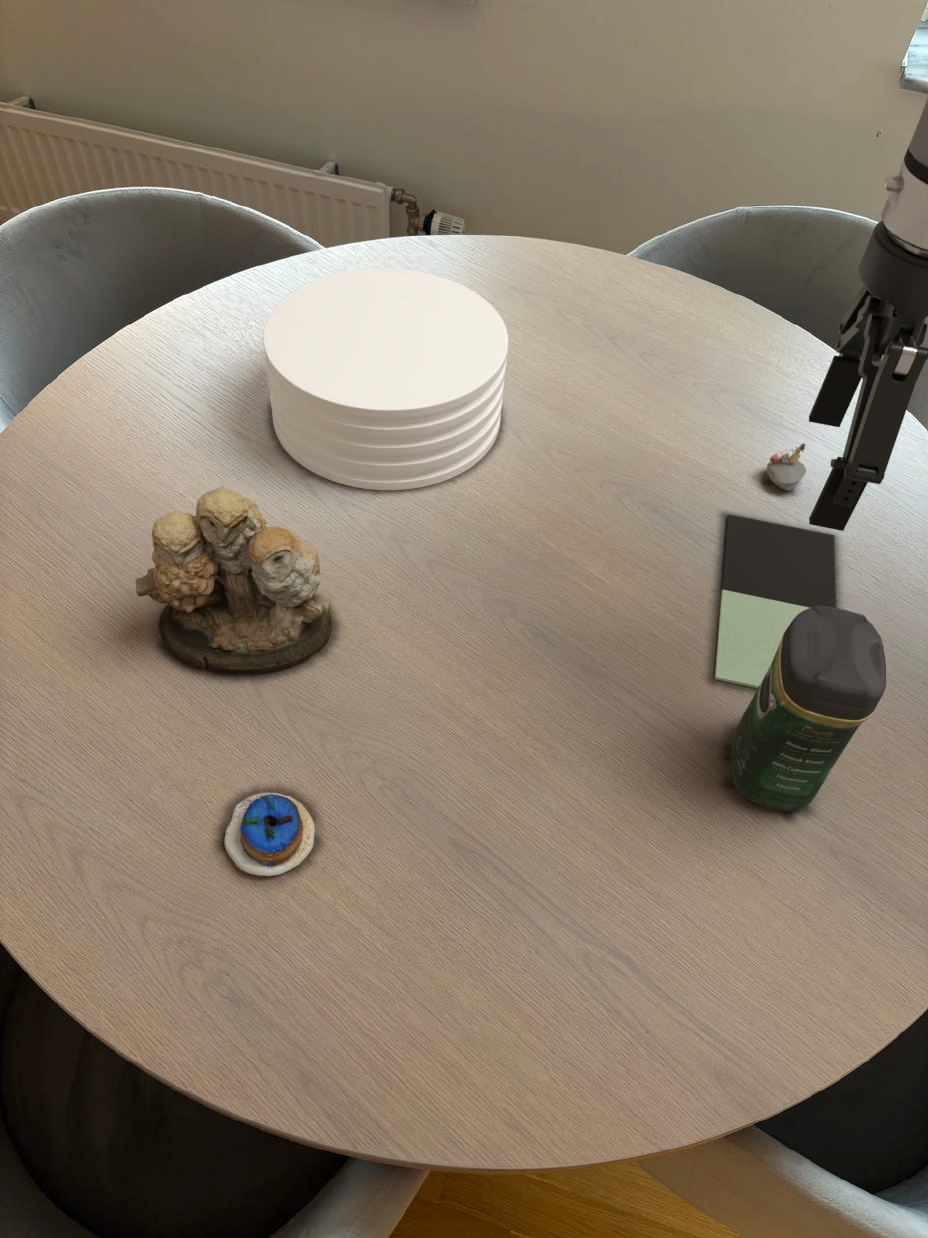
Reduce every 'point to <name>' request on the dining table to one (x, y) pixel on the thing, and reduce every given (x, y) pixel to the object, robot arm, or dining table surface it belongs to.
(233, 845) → the dessert
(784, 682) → the coffee jar
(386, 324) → the plate stack
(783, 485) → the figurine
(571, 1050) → the dining table surface
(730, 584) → the sorting mat
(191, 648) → the owl figurine
